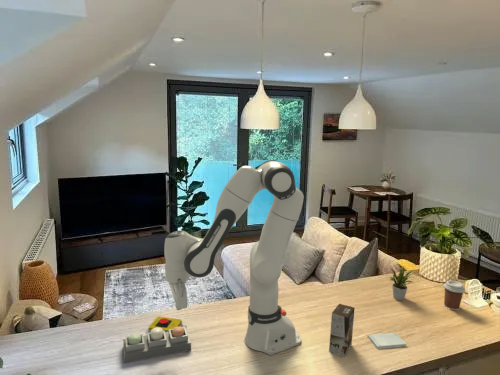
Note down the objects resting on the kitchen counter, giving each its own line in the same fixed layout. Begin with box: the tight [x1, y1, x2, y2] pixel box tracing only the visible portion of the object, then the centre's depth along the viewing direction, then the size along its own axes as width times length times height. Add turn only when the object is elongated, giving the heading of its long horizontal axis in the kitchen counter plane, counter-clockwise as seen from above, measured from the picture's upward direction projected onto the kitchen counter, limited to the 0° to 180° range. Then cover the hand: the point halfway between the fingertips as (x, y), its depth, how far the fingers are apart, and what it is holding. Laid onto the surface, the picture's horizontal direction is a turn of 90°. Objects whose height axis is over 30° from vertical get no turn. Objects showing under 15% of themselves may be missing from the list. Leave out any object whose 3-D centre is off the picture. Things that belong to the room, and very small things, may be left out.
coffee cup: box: [442, 280, 466, 311], centre depth 175 cm, size 9×9×12 cm
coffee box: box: [328, 303, 355, 357], centre depth 141 cm, size 9×6×16 cm
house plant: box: [389, 266, 415, 301], centre depth 182 cm, size 14×14×16 cm
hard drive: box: [367, 332, 407, 350], centre depth 147 cm, size 2×8×12 cm
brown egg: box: [172, 326, 184, 337], centre depth 141 cm, size 4×4×3 cm
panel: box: [122, 327, 192, 364], centre depth 139 cm, size 24×10×5 cm, turn 110°
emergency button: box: [144, 316, 187, 334], centre depth 152 cm, size 9×4×15 cm
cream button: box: [151, 328, 163, 341], centre depth 139 cm, size 4×4×3 cm
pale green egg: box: [127, 333, 141, 345], centre depth 136 cm, size 4×4×3 cm
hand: (178, 308), depth 139 cm, fingers closed
